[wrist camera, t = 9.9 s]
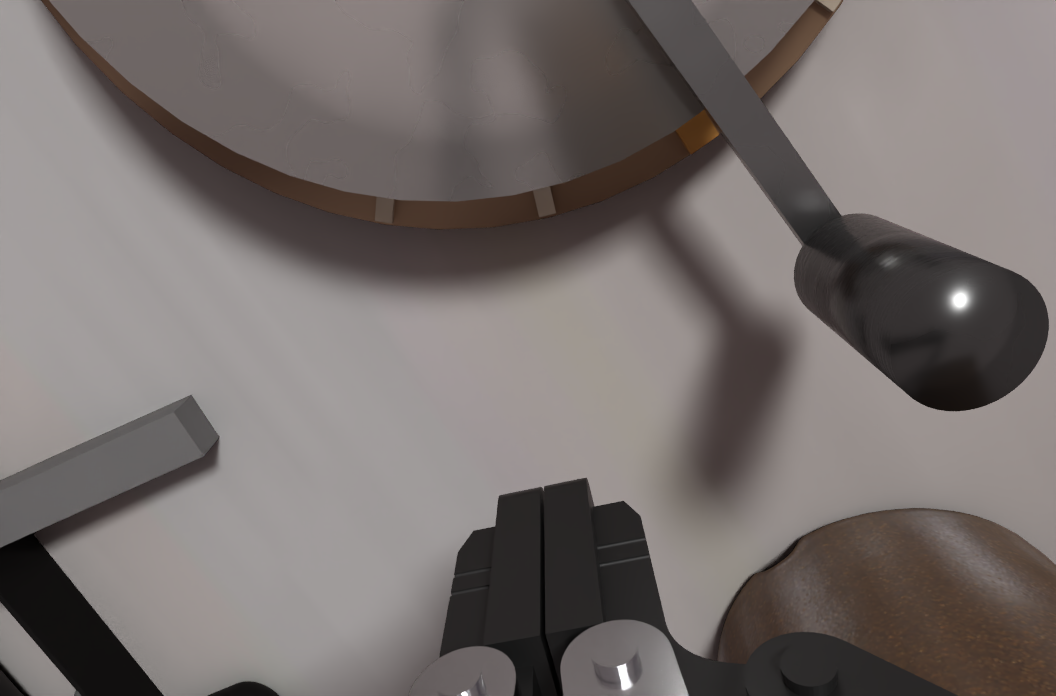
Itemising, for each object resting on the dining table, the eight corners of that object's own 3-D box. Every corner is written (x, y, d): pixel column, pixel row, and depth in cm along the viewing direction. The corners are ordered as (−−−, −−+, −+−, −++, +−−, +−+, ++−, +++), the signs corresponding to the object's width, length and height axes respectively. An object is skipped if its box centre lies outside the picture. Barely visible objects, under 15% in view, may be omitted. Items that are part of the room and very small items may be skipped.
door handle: (35, 240, 19) (-438, 475, 21) (392, 754, 25) (8, 903, 27) (100, 220, 22) (-316, 425, 24) (403, 682, 29) (58, 820, 30)
